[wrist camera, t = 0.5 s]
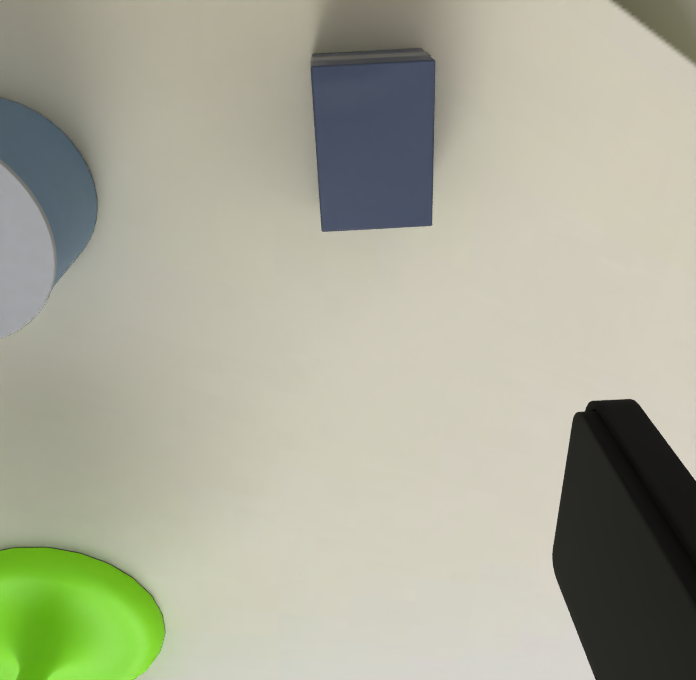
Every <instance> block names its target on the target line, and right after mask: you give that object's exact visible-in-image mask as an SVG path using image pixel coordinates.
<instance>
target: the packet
mask: <svg viewBox="0 0 696 680" xmlns="http://www.w3.org/2000/svg"><path fill="white" fill-rule="evenodd" d="M311 80H312V95H313V110H314V125H315V140H316V155H317V170H318V184H319V199H320V214H321V229H322V231H323V232H328V231H347V230H365V229H383V228H401V227H420V226H431V225H432V204H433V154H434V105H435V60H434V59H433V58H432V57H431V55H430V54H429V53H428V52H426V51H424V50H423V49H421V48H415V49H396V50H377V51H357V52H338V53H319V54H312V58H311Z"/></svg>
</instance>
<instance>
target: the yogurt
mask: <svg viewBox="0 0 696 680" xmlns="http://www.w3.org/2000/svg"><path fill="white" fill-rule="evenodd" d="M96 217H97V196H96V191H95V186H94V183H93V179H92V176H91V174H90V171H89V169H88V167H87V165H86V163H85V161H84V159H83V158H82V156H81V154H80V152H79V151H78V150H77V148H76V147H75V146H74V144H73V143H72V142H71V141H70V139H69V138H68V137H67V136H66V135H65V134H64V133H63V132H62V131H61V130H60V129H59V128H57V127H56V126H55V125H54V124H53V123H52V122H50V121H49V120H48V119H46V118H45V117H43V116H42V115H40V114H39V113H37V112H35V111H33V110H31V109H30V108H28V107H26V106H23V105H21V104H18V103H16V102H13V101H10V100H6V99H3V98H0V338H3V337H6V336H8V335H11V334H12V333H14V332H16V331H18V330H20V329H21V328H23V327H24V326H25V325H26V324H28V323H29V322H30V321H31V320H32V319H33V318H34V317H35V316H36V315H37V314H38V313H39V312H40V310H41V309H42V308H43V306H44V304H45V303H46V301H47V300H48V298H49V296H50V293H51V291H52V289H53V286H54V285H55V284H56V283H57V282H58V280H59V279H60V278H61V277H62V275H63V274H64V273H65V272H66V270H67V269H68V268H69V267H70V266H71V264H72V263H73V262H74V261H75V259H76V258H77V257H78V256H79V254H80V253H81V252H82V251H83V249H84V248H85V246H86V245H87V243H88V242H89V240H90V238H91V236H92V233H93V231H94V227H95V223H96Z"/></svg>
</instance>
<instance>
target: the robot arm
mask: <svg viewBox="0 0 696 680" xmlns="http://www.w3.org/2000/svg"><path fill="white" fill-rule="evenodd" d="M552 556H553V567H554V572H555V576H556V579H557V582H558V584H559V587H560V589H561V592H562V594H563V597H564V600H565V602H566V605H567V607H568V610H569V612H570V615H571V617H572V620H573V623H574V625H575V628H576V630H577V633H578V635H579V638H580V641H581V643H582V646H583V648H584V651H585V653H586V656H587V659H588V661H589V664H590V666H591V669H592V671H593V674H594V677H595V679H596V680H696V481H695V480H694V478H693V477H692V476H691V474H690V473H689V471H688V470H687V469H686V467H685V466H684V465H683V463H682V462H681V461H680V459H679V458H678V457H677V455H676V454H675V453H674V451H673V450H672V449H671V447H670V446H669V445H668V443H667V442H666V440H665V439H664V438H663V436H662V435H661V434H660V432H659V431H658V430H657V428H656V427H655V426H654V424H653V423H652V422H651V420H650V419H649V418H648V416H647V415H646V414H645V412H644V411H643V409H642V408H641V407H640V405H639V404H638V403H637V402H636V401H635V400H632V399H622V400H602V401H591V402H589V403H588V405H587V407H586V410H585V412H577V413H576V414H575V415H574V418H573V422H572V429H571V435H570V442H569V448H568V455H567V461H566V467H565V474H564V480H563V487H562V493H561V500H560V506H559V513H558V519H557V526H556V532H555V539H554V545H553V554H552Z"/></svg>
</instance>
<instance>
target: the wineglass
mask: <svg viewBox="0 0 696 680" xmlns="http://www.w3.org/2000/svg"><path fill="white" fill-rule="evenodd" d="M164 636H165V629H164V623H163V617H162V613H161V612H160V610H159V608H158V607H157V605H156V603H155V601H154V600H153V598H152V596H151V595H150V594H149V593H148V592H147V591H146V590H145V589H144V588H143V587H142V586H141V585H139V584H138V583H137V582H136V581H135V580H134V579H133V578H132V577H130V576H128V575H126V574H125V573H123V572H121V571H120V570H118V569H116V568H115V567H113V566H111V565H110V564H108V563H105V562H102V561H99V560H97V559H94V558H91V557H88V556H86V555H83V554H80V553H75V552H69V551H64V550H58V549H52V548H12V549H7V550H2V551H0V680H134V679H135V678H137V677H138V676H139V675H141V674H142V673H144V672H145V671H146V670H147V669H148V668H149V666H150V665H151V664H152V662H153V661H154V660H155V658H156V657H157V656H158V654H159V653H160V651H161V648H162V644H163V640H164Z"/></svg>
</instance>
